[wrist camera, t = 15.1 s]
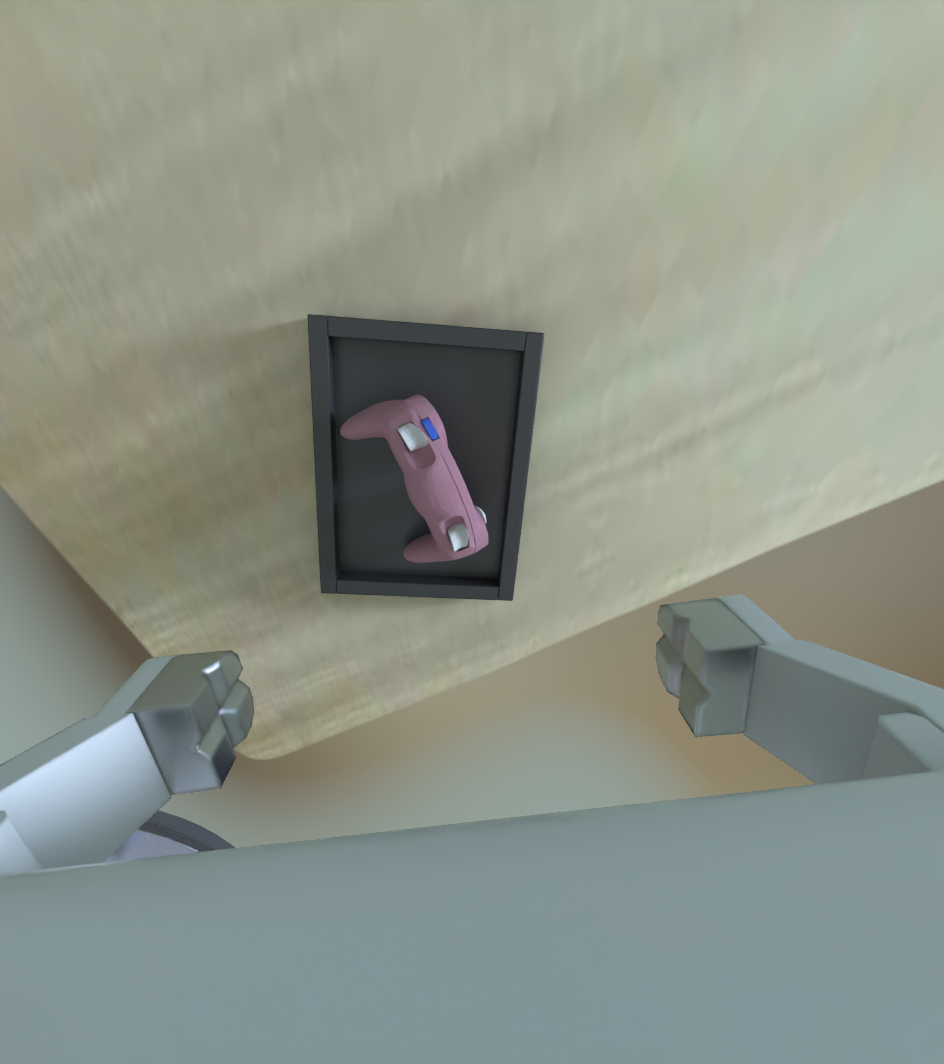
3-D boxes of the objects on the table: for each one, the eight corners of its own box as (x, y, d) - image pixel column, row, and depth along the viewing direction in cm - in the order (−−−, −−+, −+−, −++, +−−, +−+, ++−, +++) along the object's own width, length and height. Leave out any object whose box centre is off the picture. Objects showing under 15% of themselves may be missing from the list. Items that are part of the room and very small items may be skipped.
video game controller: (461, 528, 33) (516, 549, 27) (403, 563, 32) (448, 594, 26) (398, 389, 30) (445, 377, 24) (330, 421, 28) (361, 417, 22)
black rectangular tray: (327, 578, 34) (320, 593, 32) (316, 315, 27) (307, 314, 26) (509, 586, 34) (512, 601, 33) (538, 333, 28) (544, 333, 26)
